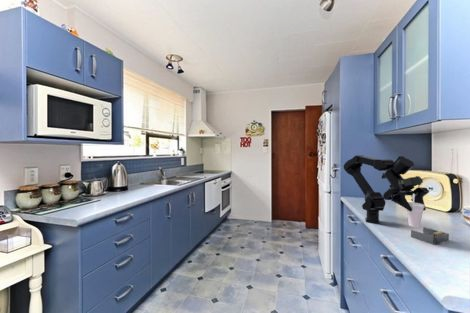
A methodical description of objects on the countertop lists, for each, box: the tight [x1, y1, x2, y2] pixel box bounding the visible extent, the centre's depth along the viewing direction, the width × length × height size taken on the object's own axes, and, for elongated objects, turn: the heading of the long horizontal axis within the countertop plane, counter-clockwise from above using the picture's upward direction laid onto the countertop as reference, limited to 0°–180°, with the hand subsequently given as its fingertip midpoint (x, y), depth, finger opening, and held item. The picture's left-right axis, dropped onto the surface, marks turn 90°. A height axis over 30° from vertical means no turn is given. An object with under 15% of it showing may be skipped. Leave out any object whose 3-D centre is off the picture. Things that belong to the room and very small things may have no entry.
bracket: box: [410, 226, 450, 246], centre depth 96 cm, size 9×10×4 cm
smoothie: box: [406, 194, 426, 228], centre depth 95 cm, size 6×6×14 cm
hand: (418, 210), depth 94 cm, fingers closed on smoothie, 6 cm apart
